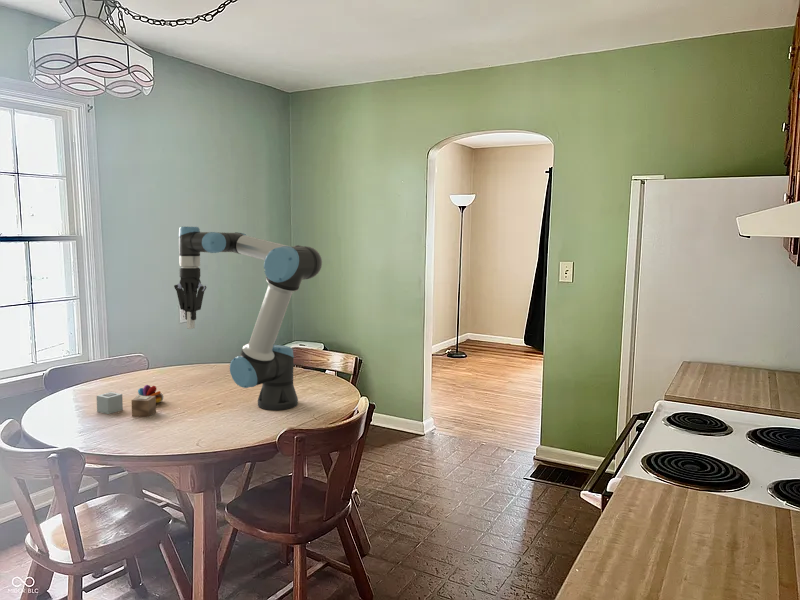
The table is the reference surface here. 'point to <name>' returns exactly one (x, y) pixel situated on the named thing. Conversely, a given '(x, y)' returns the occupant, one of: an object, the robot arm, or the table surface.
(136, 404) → the walnut block
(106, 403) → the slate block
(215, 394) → the table surface
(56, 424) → the table surface
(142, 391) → the rainbow segmented toy
